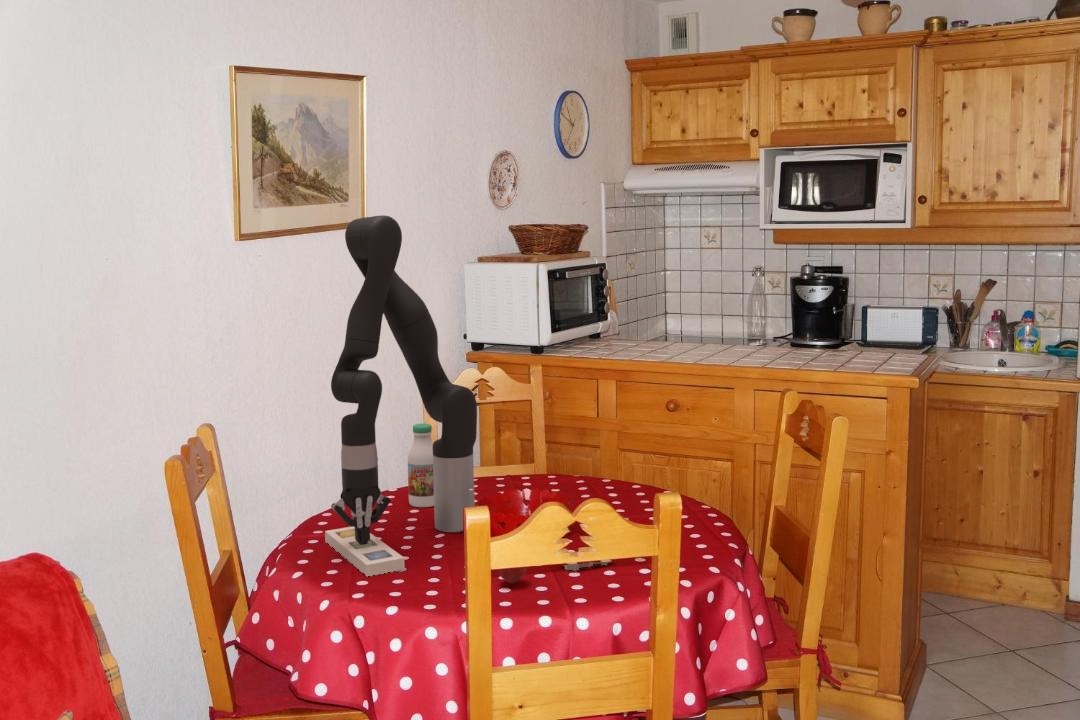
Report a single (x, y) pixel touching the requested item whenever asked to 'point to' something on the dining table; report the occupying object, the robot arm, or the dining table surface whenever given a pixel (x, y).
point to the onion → (512, 574)
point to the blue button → (377, 555)
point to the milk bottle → (421, 467)
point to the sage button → (358, 546)
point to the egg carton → (582, 565)
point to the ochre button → (347, 533)
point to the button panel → (365, 553)
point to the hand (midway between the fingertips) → (362, 543)
